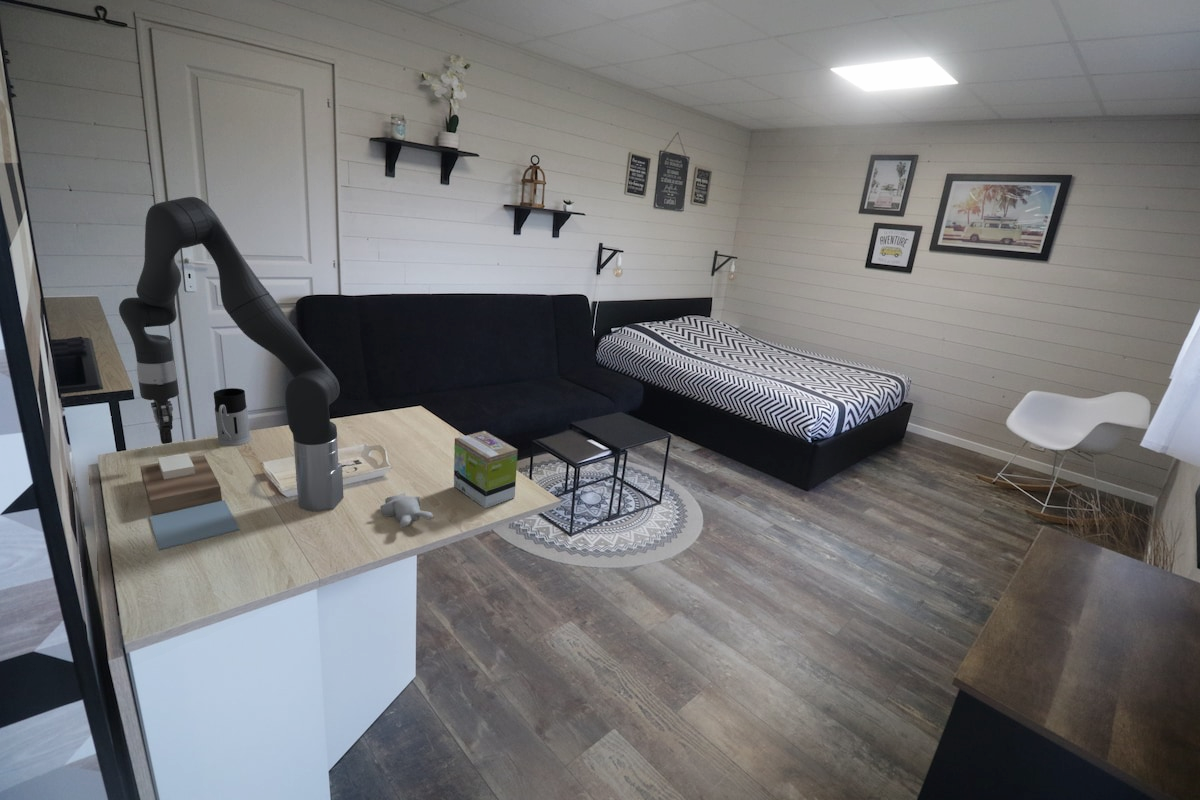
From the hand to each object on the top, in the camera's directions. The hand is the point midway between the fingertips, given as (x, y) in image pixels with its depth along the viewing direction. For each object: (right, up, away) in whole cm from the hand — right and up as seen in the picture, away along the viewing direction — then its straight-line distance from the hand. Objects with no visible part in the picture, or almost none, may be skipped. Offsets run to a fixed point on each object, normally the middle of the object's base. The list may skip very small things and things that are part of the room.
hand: (166, 442), depth 142 cm
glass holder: (+4, -2, +19) cm, 19 cm away
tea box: (+80, -14, +7) cm, 82 cm away
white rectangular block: (+7, -6, -6) cm, 11 cm away
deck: (+10, -11, -8) cm, 17 cm away
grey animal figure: (+64, -18, -9) cm, 68 cm away
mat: (+22, -16, -20) cm, 34 cm away
